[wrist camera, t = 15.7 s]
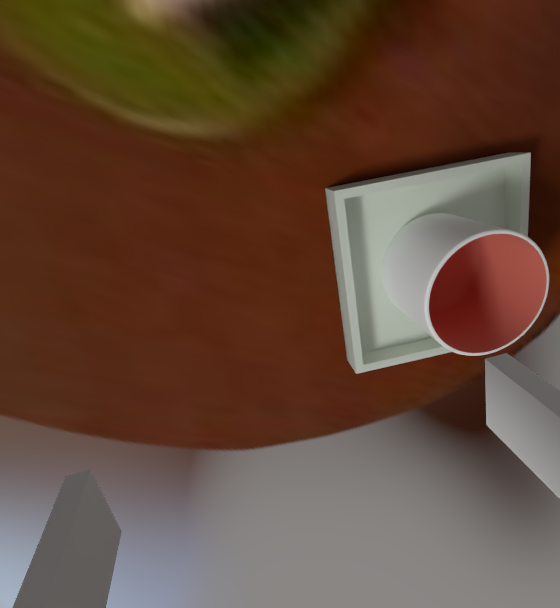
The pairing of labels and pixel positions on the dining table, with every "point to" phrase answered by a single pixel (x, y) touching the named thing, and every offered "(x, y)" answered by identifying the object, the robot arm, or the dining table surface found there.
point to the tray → (389, 221)
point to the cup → (466, 281)
